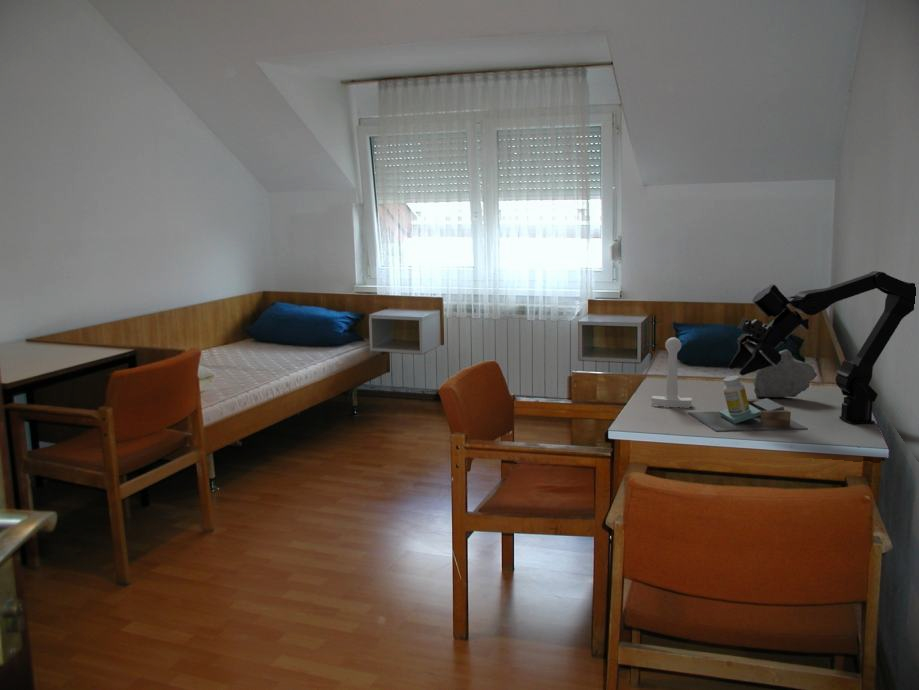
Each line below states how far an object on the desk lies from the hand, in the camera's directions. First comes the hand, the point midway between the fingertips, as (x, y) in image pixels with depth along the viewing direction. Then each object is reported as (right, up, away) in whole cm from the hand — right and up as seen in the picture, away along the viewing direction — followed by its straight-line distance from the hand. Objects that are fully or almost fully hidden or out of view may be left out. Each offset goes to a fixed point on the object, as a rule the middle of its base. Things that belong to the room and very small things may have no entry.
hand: (735, 371), depth 212 cm
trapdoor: (+5, -12, +2) cm, 14 cm away
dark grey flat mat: (+4, -13, +2) cm, 14 cm away
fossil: (+25, -9, +29) cm, 39 cm away
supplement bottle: (+2, -11, +1) cm, 11 cm away
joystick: (-11, -11, +22) cm, 27 cm away
